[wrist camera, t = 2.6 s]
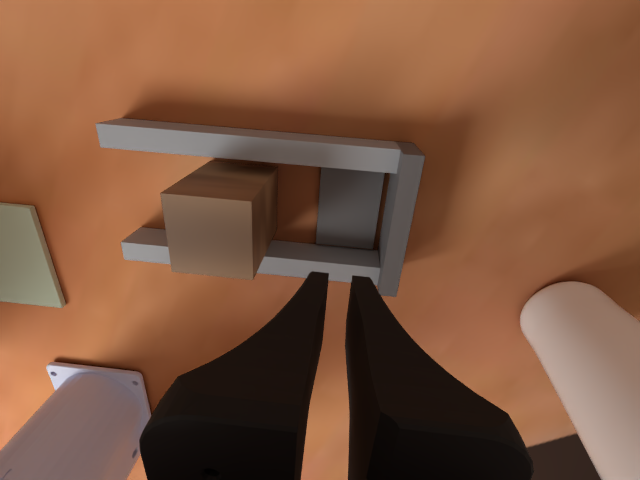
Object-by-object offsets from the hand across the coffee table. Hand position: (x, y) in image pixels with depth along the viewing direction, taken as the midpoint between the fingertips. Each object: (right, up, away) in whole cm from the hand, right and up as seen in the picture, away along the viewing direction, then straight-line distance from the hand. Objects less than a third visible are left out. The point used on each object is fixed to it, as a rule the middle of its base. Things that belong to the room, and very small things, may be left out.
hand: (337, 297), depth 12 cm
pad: (-24, +1, +12) cm, 26 cm away
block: (-5, +5, +9) cm, 11 cm away
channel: (-5, +5, +9) cm, 11 cm away
